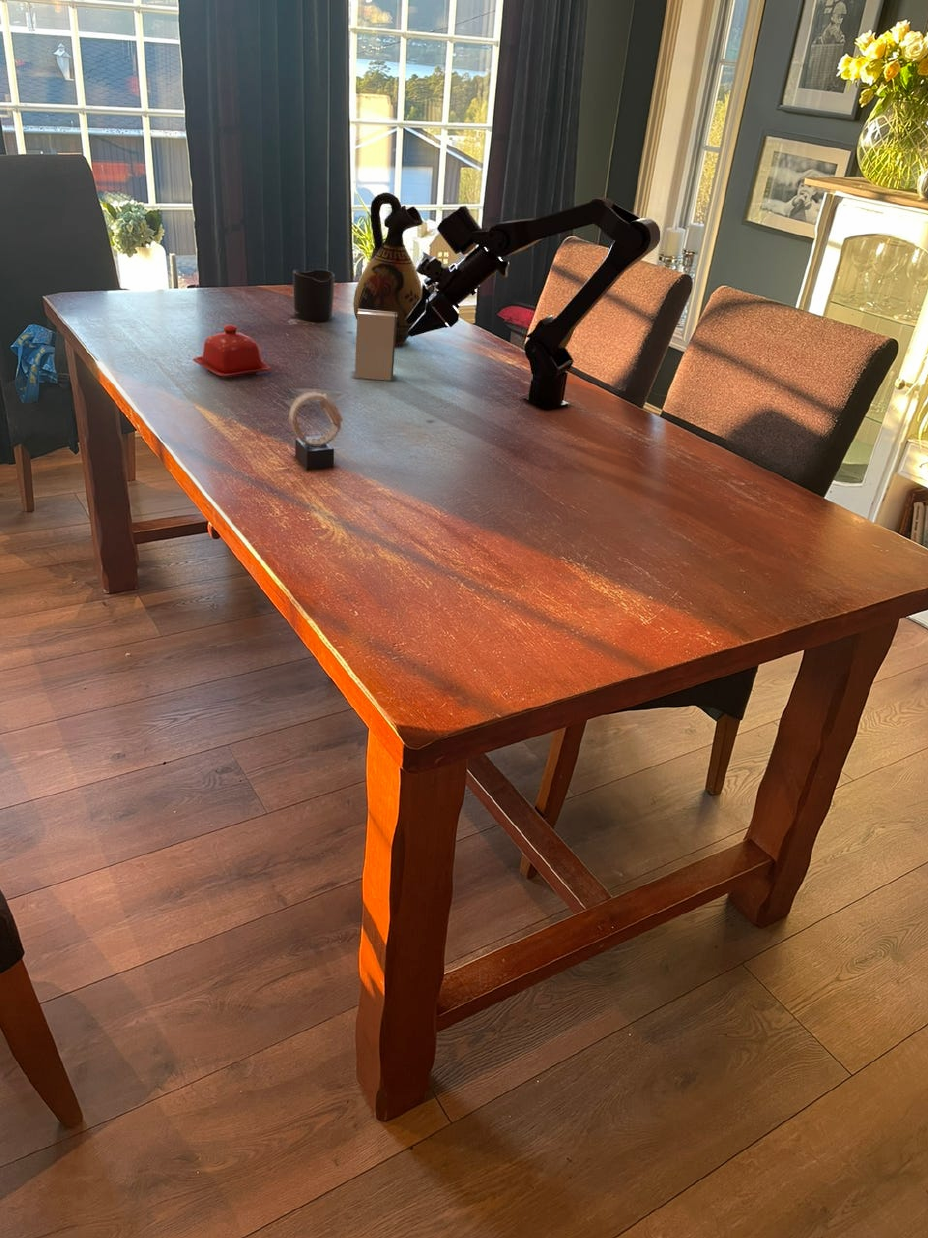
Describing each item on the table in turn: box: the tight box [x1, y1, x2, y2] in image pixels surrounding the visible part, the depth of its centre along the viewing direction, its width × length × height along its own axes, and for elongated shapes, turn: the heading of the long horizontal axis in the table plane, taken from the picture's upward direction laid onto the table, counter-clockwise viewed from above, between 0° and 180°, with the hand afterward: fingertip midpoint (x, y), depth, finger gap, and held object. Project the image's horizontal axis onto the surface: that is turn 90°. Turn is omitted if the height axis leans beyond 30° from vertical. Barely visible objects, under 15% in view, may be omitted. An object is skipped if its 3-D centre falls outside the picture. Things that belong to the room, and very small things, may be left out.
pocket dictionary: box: [354, 309, 397, 382], centre depth 183 cm, size 8×4×12 cm, turn 94°
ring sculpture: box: [288, 390, 344, 471], centre depth 144 cm, size 6×8×11 cm
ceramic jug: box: [352, 191, 424, 348], centre depth 202 cm, size 17×15×30 cm
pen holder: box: [292, 268, 336, 323], centre depth 217 cm, size 9×9×10 cm
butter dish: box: [192, 324, 271, 378], centre depth 178 cm, size 12×12×8 cm
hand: (407, 328), depth 182 cm, fingers open, 9 cm apart
